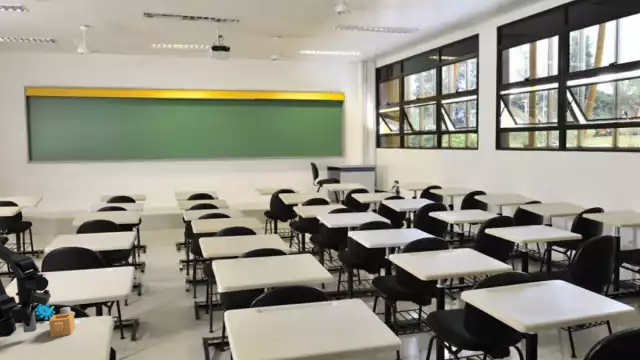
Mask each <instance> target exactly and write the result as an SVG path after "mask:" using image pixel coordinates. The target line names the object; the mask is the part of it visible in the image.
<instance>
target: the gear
mask: <svg viewBox="0 0 640 360" xmlns="http://www.w3.org/2000/svg"><path fill="white" fill-rule="evenodd" d="M54 308H55V306H53V305H52V306H51V307H50V305H49V303H47V304H46V305H41V304H39V306H38V307H37V308H36V309H35V317H36V320H42V319H43V321H47V320H48V321H49V320H50V319H51V318H52V317H53V316H54V315H56V314H55V313H56V311H54Z"/></svg>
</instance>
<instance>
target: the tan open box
mask: <svg viewBox="0 0 640 360" xmlns="http://www.w3.org/2000/svg"><path fill="white" fill-rule="evenodd" d="M59 311H60V312H59V313H58V314H54V316H53V317H52V318H51V319H50V320H49V319H48V323H49V324H48V325H49V334H50V335H49V336H50V338H51V337H61V336H70V335H72V333H73V332H74V331H75V329H76V325H75V316H76V312H75V311H72V310H71V307H70V306H66V307H62V308H60V309H59Z"/></svg>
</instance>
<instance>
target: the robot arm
mask: <svg viewBox="0 0 640 360" xmlns="http://www.w3.org/2000/svg"><path fill="white" fill-rule="evenodd" d="M0 260H1V261H4V262H5V263H7V264H8V265H9V266H8V267H9V270H11V272H13V273H14V275H13V276H12V278H14V279H16V290H17V292H16V293H15V296H16V297H17V298H18V301H16V298H15V297H14V295H12V296H10V295H9V294H8V293H7V291H6V288H5V286H4V284H3V282H2V281H3V280H2V278H1V277H0V337H8V336H12V335H13V334H14V333H15V332H16V331H17V328H16V327H17V326H16V320H15V319H14V318H16V317H18V318H19V319H20V320H21V321H22V323H23V322H24V324H25V325H26V326H30V315H31V313H32V312H33V311H35V309H36V308H37V307H38V306H39V304H40V306H41V305H43V306H46V305H47V304H49V301H50V298H51V297H52V295H51V294H52V293H50V290H49V289H47V288H48V287H49V280H48V278H47V277H46V276H44V274H43V273H41V271H40V267H39V266H38V265H37V264H36V262H35V260H34V259H33V258H32V257H30V256H28V255H25V254H18V253H16V252H15V251H14V250H11V248H9V247H7V246H5V245H4V244H3V243H2V242H1V241H0Z"/></svg>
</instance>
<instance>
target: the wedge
mask: <svg viewBox="0 0 640 360" xmlns="http://www.w3.org/2000/svg"><path fill="white" fill-rule="evenodd" d="M35 313H36V312H35V311H33V312H32V313H31V315H30V326H26V325H25V324H24V322H23V321H22V328H23V333H32V332H33V333H34V332H35V331H36V330H37V321H36V320H37V318H36V315H35Z"/></svg>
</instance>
